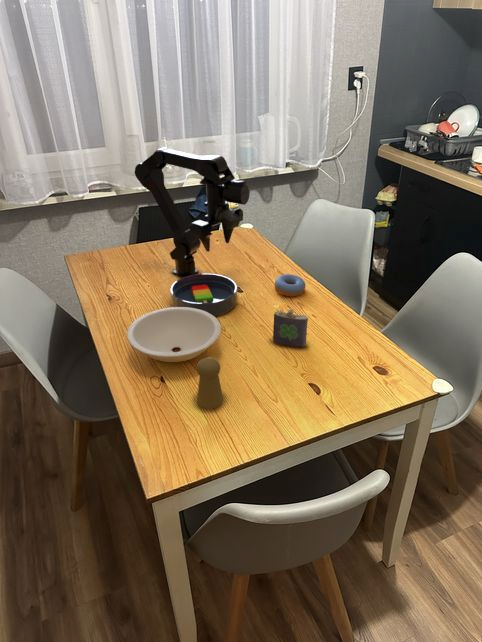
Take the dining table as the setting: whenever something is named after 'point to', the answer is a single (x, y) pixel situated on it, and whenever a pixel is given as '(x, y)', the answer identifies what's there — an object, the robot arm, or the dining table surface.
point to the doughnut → (289, 285)
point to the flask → (290, 329)
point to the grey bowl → (174, 333)
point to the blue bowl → (218, 286)
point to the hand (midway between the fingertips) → (217, 247)
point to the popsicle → (202, 294)
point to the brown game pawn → (209, 384)
